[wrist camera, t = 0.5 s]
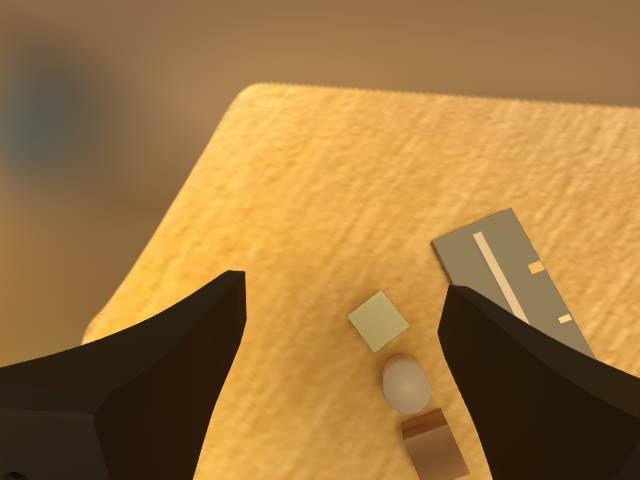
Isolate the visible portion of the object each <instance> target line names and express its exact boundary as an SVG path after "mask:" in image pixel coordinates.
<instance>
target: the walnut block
mask: <svg viewBox="0 0 640 480" xmlns="http://www.w3.org/2000/svg"><path fill="white" fill-rule="evenodd" d="M402 429H403V437H404V442H405V444H406V446H407V449H408V451H409V454H410V456H411V459H412V461H413V463H414V466H415V468H416V471H417V473H418V476H419V478H420V480H453V479H456V478H459V477H462V476H465V475H469V474H470V473H469V471H468V468H467V466H466V464H465V462H464V459H463V457H462V455H461V453H460V450H459V448H458V446H457V444H456V441H455V439H454V437H453V435H452V432H451V430H450V428H449V426H448V423H447V421H446V419H445V417H444V415H443V413H442V410H441V409H438V410H435V411H432V412H430V413H427V414H424V415H421V416H418V417H416V418H413V419H410V420H407V421H404V422H402Z"/></svg>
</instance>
